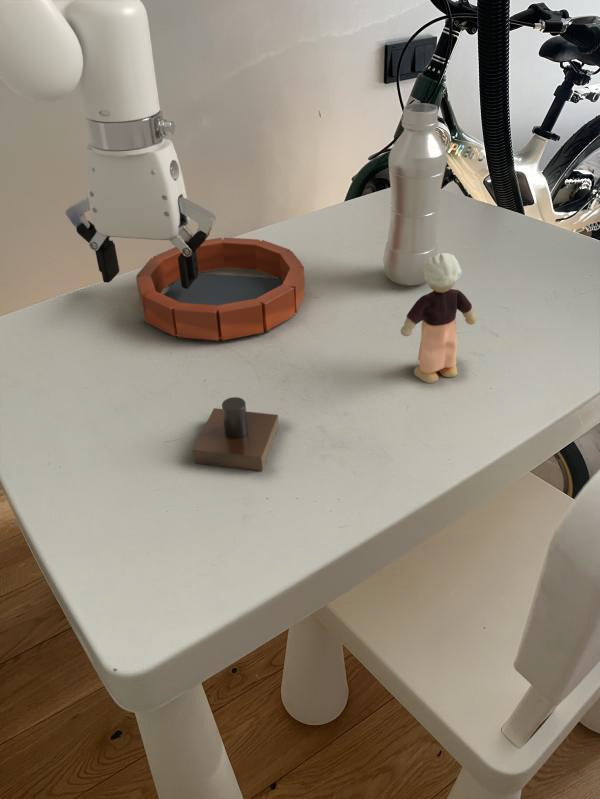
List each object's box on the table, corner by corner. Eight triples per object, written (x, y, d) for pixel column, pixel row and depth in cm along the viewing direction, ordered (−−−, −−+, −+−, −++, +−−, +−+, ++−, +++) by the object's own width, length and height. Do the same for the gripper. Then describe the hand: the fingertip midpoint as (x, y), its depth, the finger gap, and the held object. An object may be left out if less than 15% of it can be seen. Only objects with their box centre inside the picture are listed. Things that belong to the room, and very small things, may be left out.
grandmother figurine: (449, 353, 76) (461, 237, 68) (474, 370, 73) (490, 252, 65) (389, 376, 73) (395, 258, 65) (413, 395, 70) (422, 274, 62)
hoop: (116, 332, 80) (111, 304, 78) (174, 258, 95) (171, 234, 93) (282, 346, 77) (281, 318, 75) (316, 268, 91) (315, 242, 89)
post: (194, 463, 63) (188, 421, 60) (215, 420, 68) (210, 380, 65) (262, 471, 62) (259, 429, 59) (278, 427, 66) (276, 387, 64)
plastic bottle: (372, 284, 88) (378, 111, 77) (398, 262, 93) (407, 96, 81) (421, 297, 85) (434, 119, 74) (445, 274, 90) (462, 103, 78)
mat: (147, 323, 83) (146, 319, 82) (182, 275, 92) (182, 271, 92) (267, 333, 80) (267, 329, 80) (291, 282, 89) (291, 279, 89)
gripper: (216, 123, 78) (230, 271, 88) (65, 118, 81) (95, 261, 91) (193, 145, 72) (211, 301, 82) (32, 139, 75) (67, 289, 85)
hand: (150, 280), depth 86 cm, fingers open, 9 cm apart
